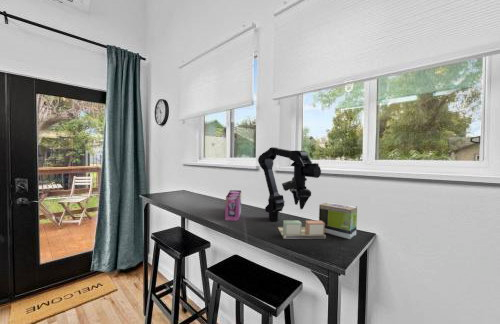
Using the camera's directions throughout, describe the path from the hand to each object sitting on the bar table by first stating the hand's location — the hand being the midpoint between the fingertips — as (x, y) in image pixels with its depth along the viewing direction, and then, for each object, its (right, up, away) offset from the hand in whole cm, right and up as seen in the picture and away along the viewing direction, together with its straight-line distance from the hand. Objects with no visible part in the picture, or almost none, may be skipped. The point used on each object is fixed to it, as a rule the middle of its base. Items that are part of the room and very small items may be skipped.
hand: (298, 206), depth 111 cm
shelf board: (0, -13, -5) cm, 14 cm away
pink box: (+5, -12, -9) cm, 16 cm away
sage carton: (-5, -11, -10) cm, 16 cm away
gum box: (-35, -11, +26) cm, 45 cm away
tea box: (+18, -13, -3) cm, 23 cm away
